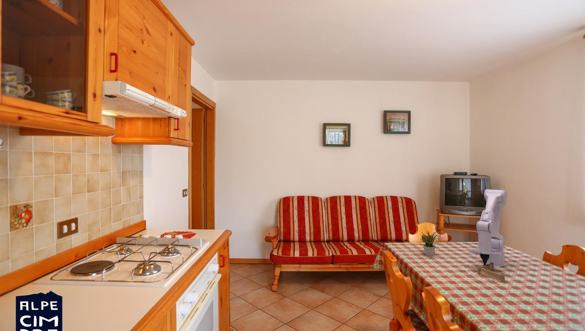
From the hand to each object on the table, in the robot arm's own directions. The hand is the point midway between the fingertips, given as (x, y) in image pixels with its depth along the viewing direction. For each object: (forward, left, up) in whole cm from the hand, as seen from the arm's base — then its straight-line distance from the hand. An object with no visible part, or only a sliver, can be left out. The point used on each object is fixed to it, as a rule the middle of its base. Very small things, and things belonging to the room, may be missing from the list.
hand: (484, 267), depth 150 cm
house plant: (+4, -31, -2) cm, 31 cm away
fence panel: (+1, +2, -1) cm, 2 cm away
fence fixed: (+8, +8, -2) cm, 11 cm away
